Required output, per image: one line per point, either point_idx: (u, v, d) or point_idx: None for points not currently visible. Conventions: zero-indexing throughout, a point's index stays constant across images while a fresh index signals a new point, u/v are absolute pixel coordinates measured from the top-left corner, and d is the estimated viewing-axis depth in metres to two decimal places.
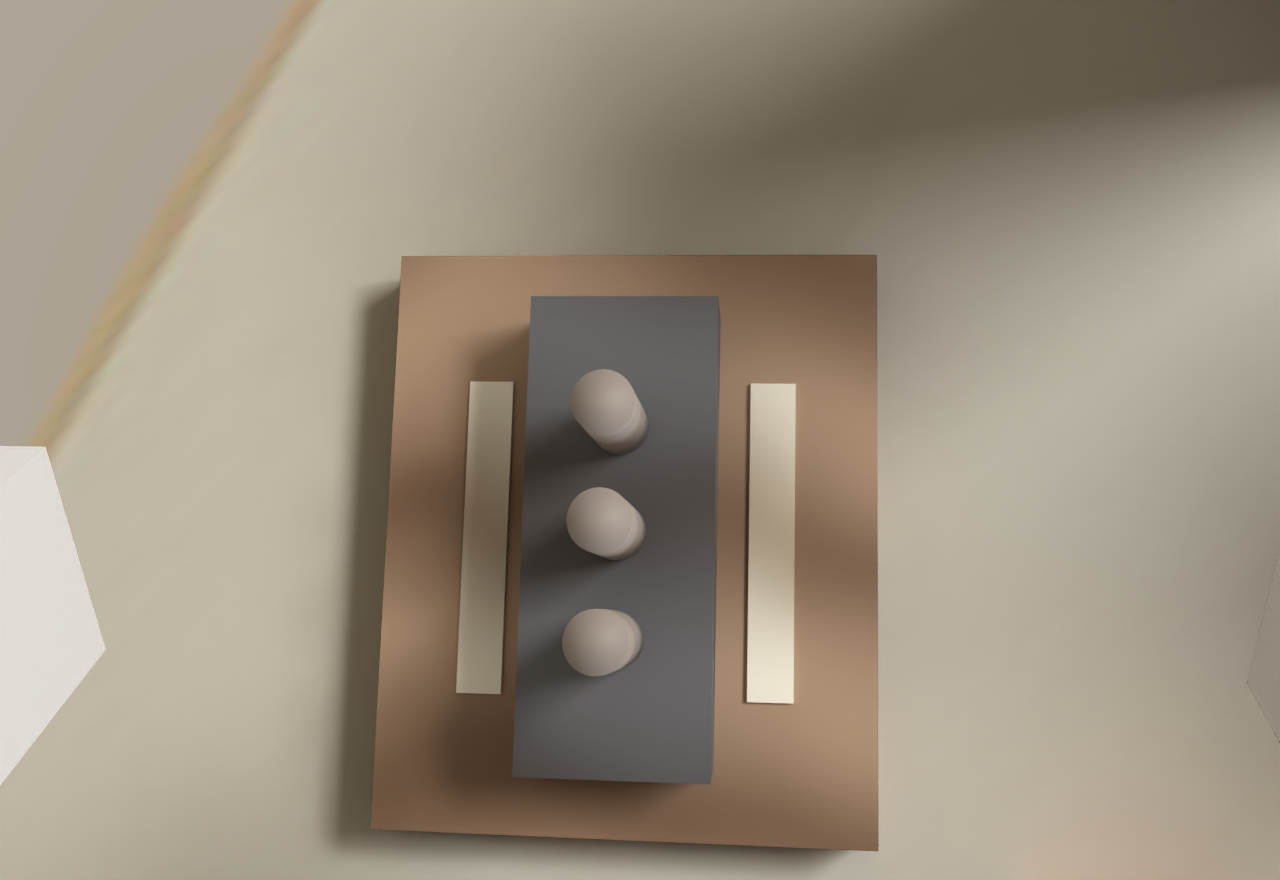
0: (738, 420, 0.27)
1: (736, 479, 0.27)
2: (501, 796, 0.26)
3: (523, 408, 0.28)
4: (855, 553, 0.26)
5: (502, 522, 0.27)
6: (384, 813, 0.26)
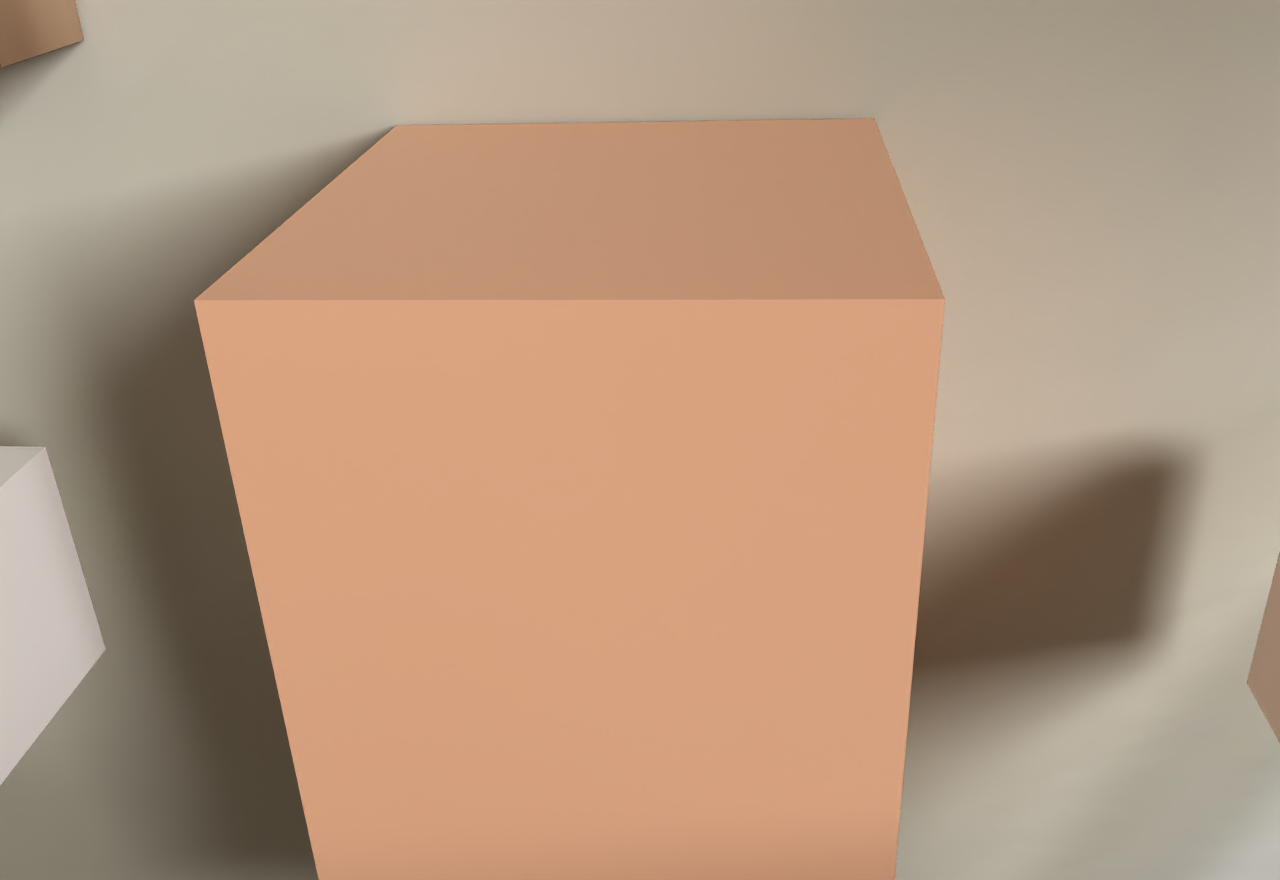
0: None
1: None
2: None
3: None
4: None
5: None
6: None
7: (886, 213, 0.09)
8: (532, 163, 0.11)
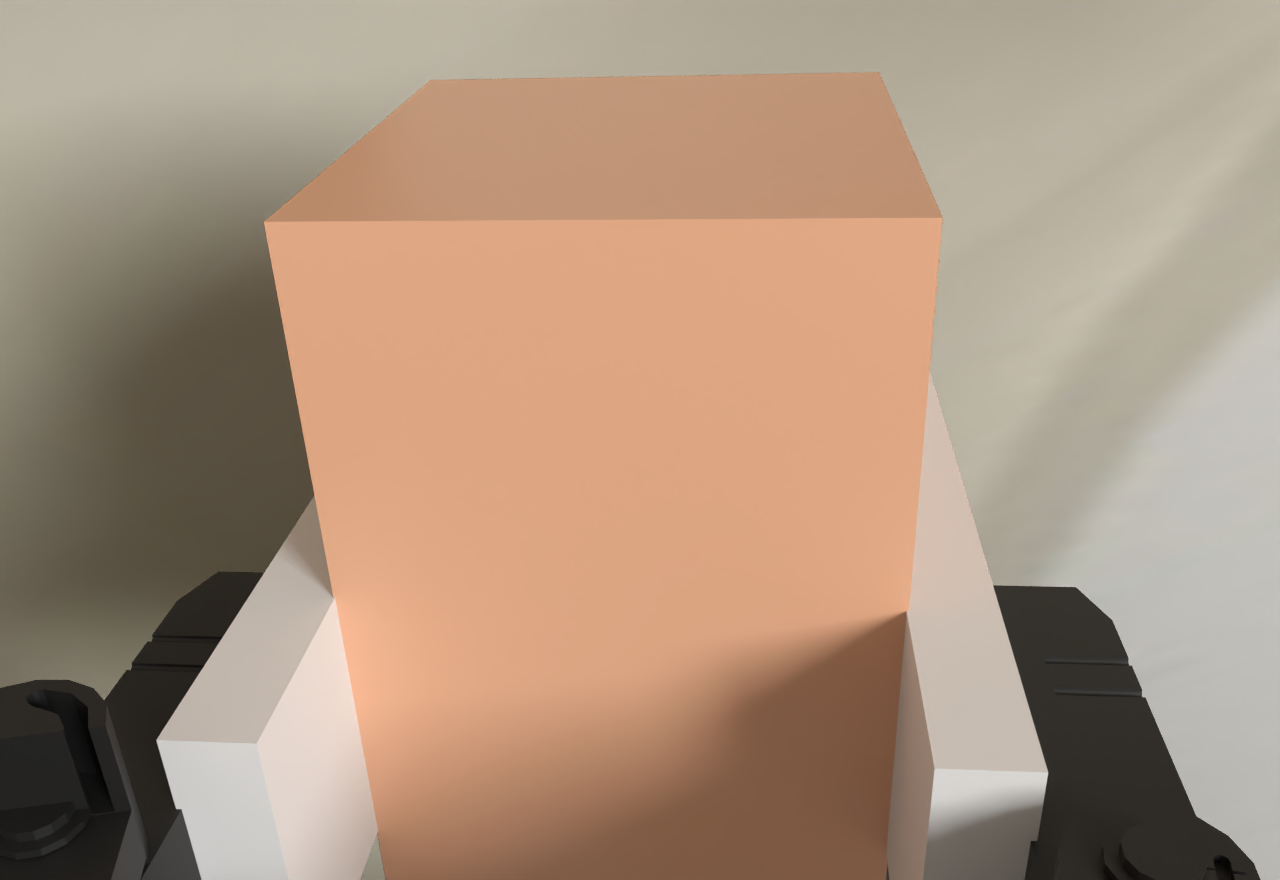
0: None
1: None
2: None
3: None
4: None
5: None
6: None
7: (890, 150, 0.10)
8: (561, 111, 0.12)
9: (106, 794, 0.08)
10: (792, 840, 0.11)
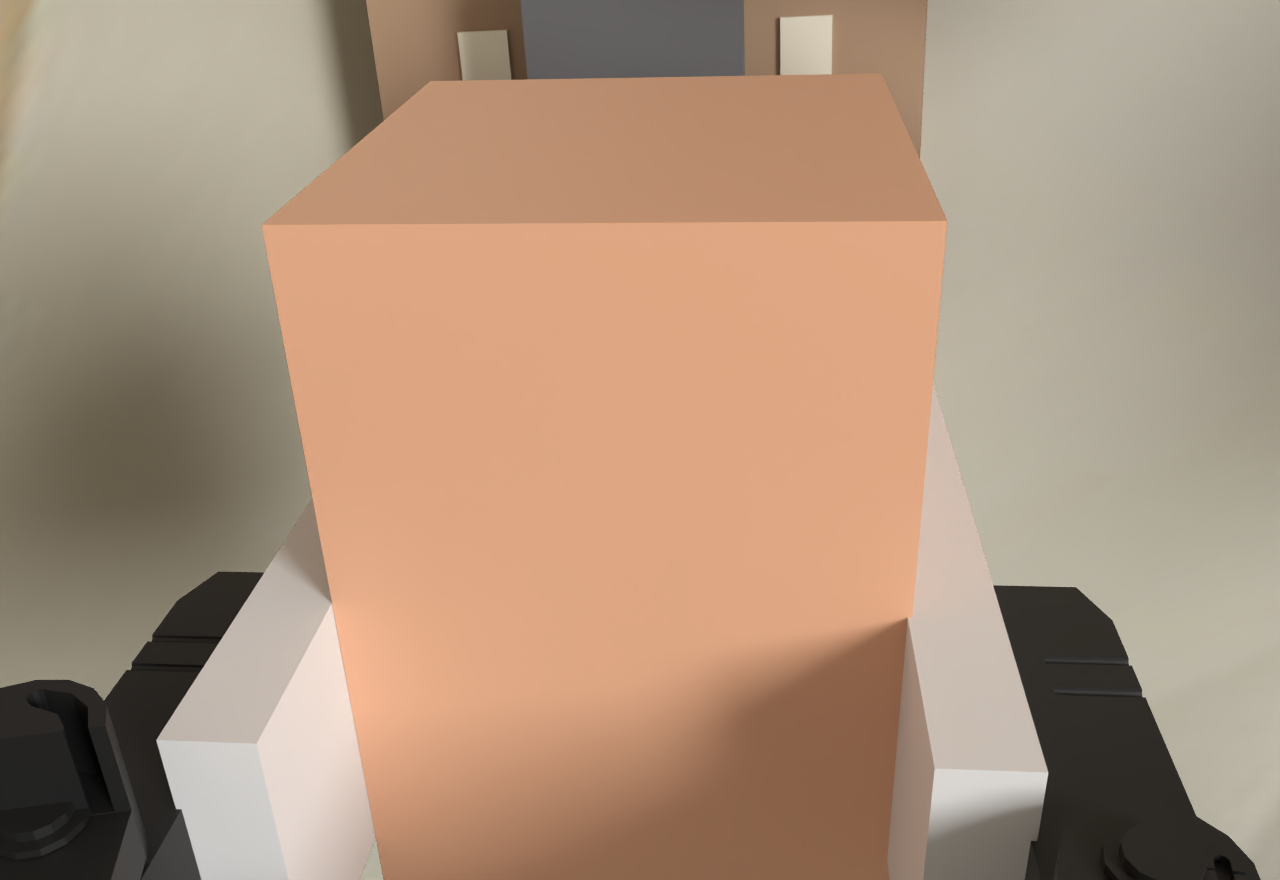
0: (766, 61, 0.24)
1: None
2: None
3: (522, 60, 0.24)
4: None
5: None
6: None
7: (893, 152, 0.10)
8: (562, 112, 0.11)
9: (105, 794, 0.08)
10: (795, 847, 0.11)
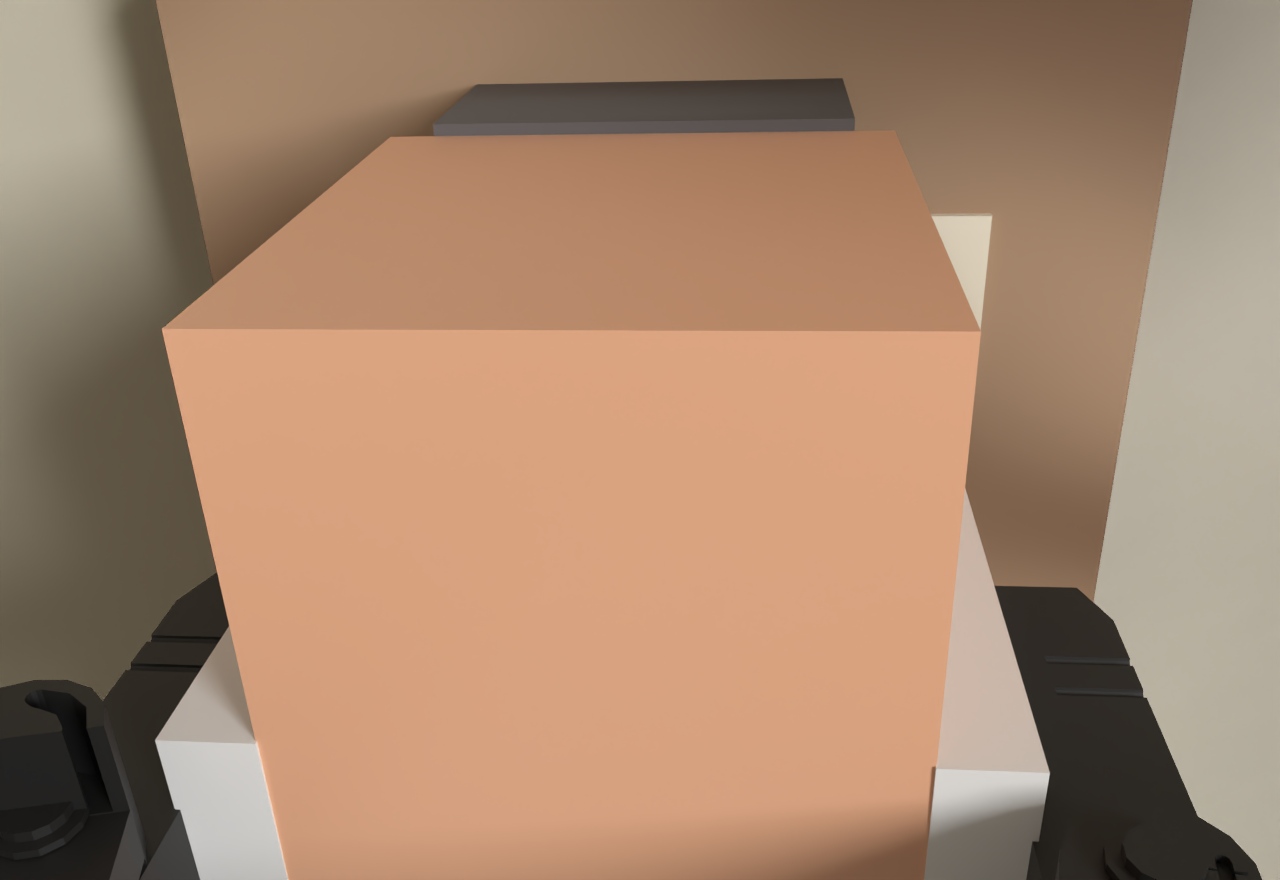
0: None
1: None
2: None
3: None
4: (1069, 505, 0.15)
5: None
6: None
7: (912, 234, 0.08)
8: (532, 178, 0.10)
9: (103, 794, 0.08)
10: None
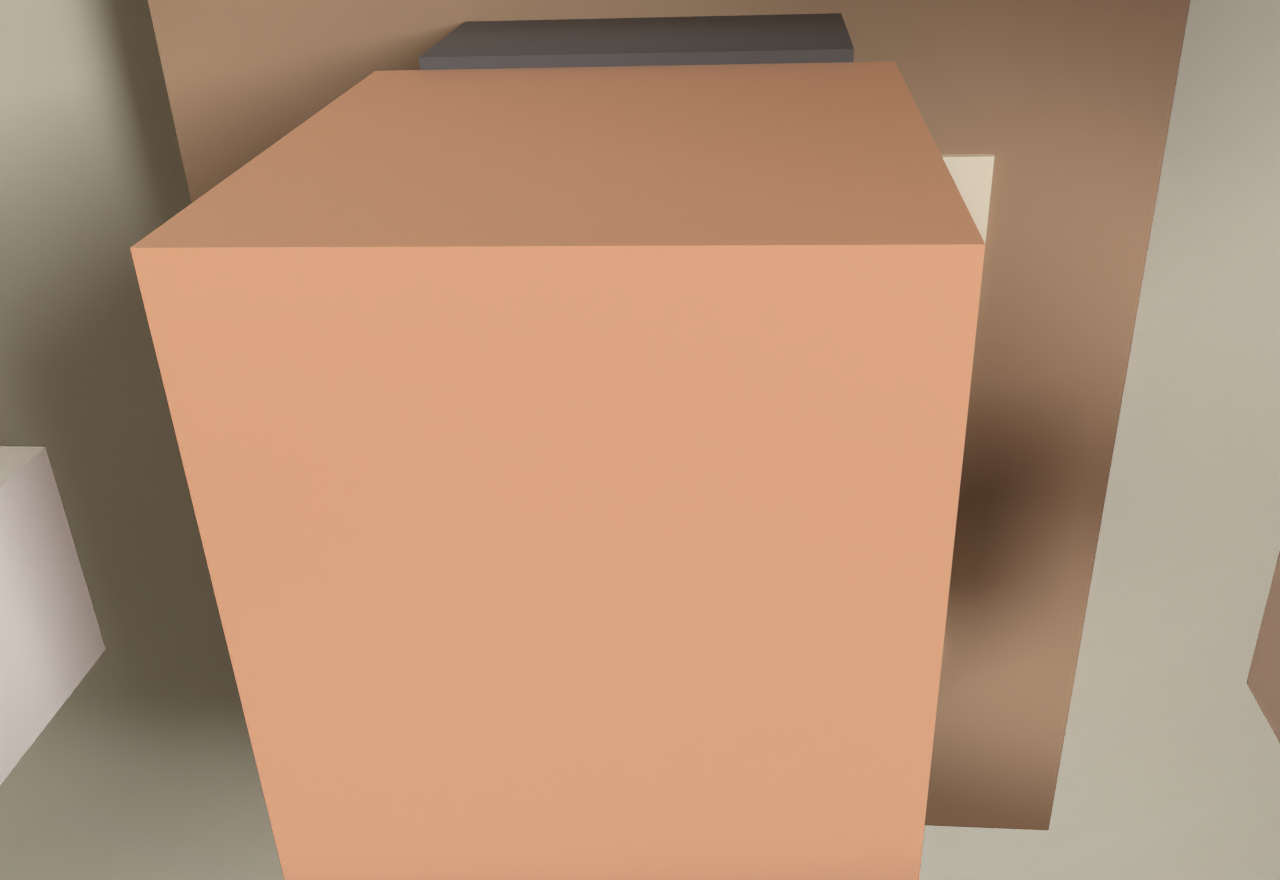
0: None
1: None
2: None
3: None
4: (1072, 456, 0.15)
5: None
6: None
7: (913, 155, 0.08)
8: (520, 107, 0.10)
9: None
10: None
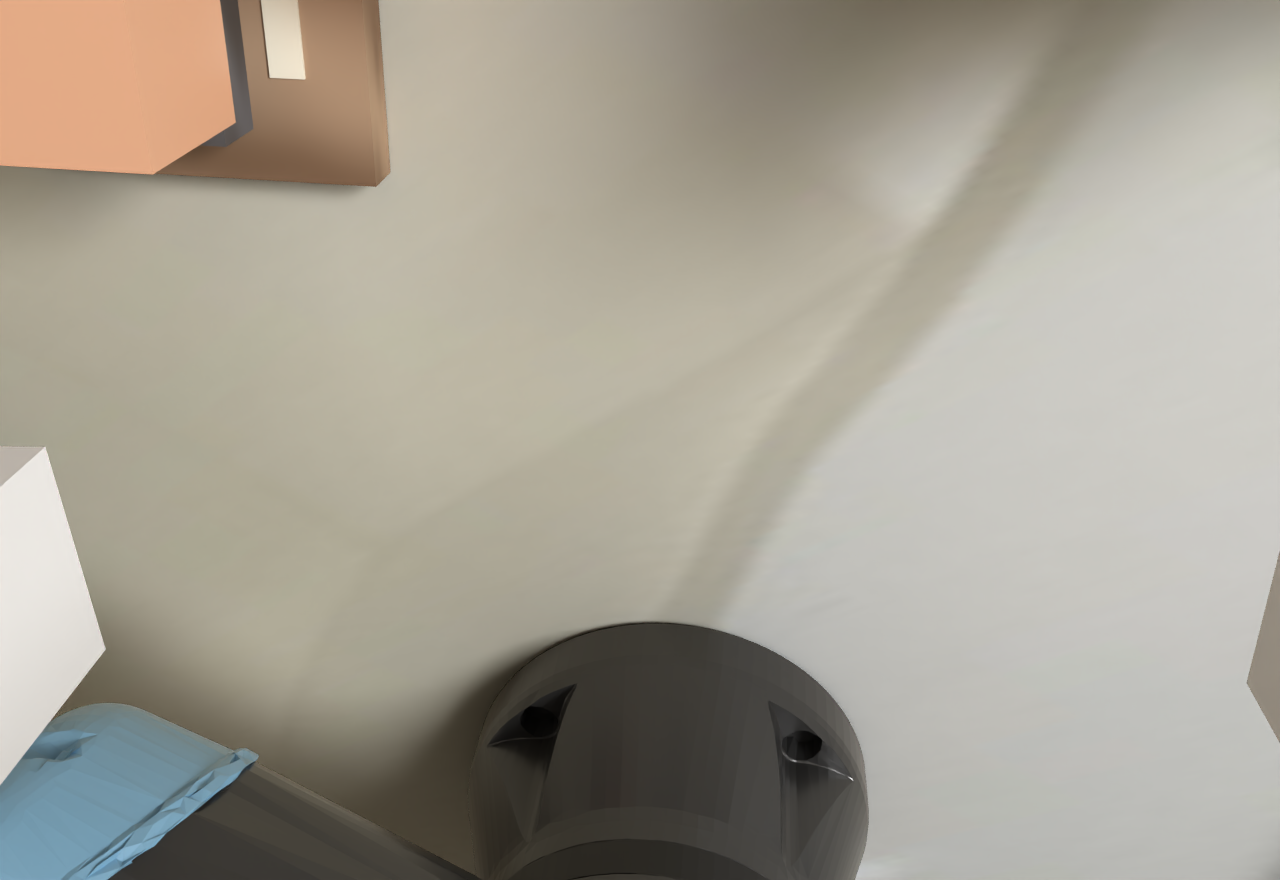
0: None
1: None
2: None
3: None
4: None
5: None
6: None
7: None
8: None
9: None
10: (90, 25, 0.27)
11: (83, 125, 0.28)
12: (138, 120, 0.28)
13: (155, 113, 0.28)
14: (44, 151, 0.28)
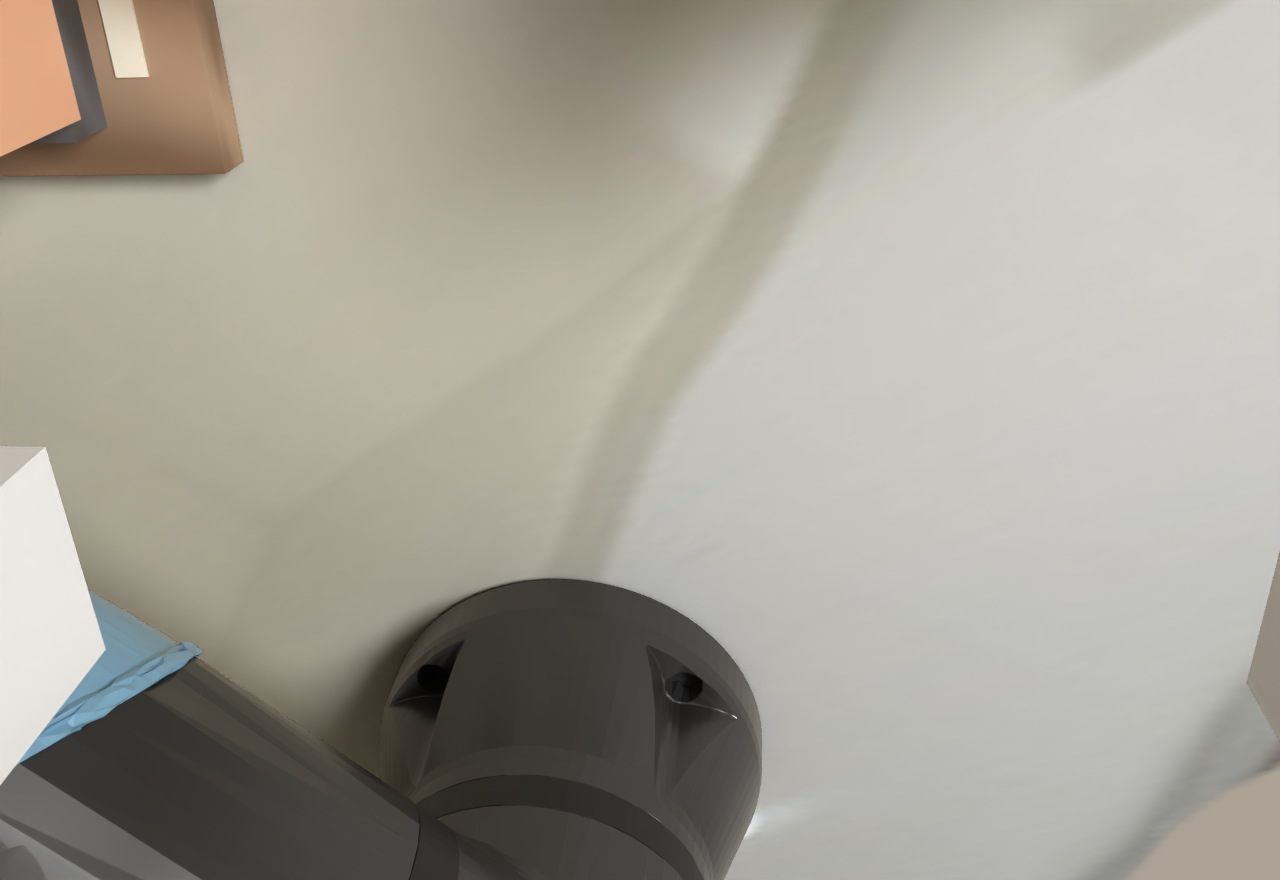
0: None
1: None
2: None
3: None
4: None
5: None
6: None
7: None
8: None
9: None
10: None
11: None
12: None
13: None
14: None
